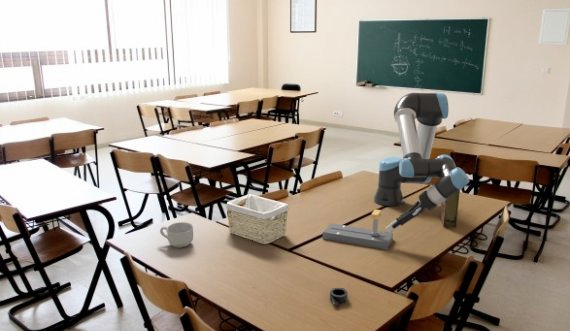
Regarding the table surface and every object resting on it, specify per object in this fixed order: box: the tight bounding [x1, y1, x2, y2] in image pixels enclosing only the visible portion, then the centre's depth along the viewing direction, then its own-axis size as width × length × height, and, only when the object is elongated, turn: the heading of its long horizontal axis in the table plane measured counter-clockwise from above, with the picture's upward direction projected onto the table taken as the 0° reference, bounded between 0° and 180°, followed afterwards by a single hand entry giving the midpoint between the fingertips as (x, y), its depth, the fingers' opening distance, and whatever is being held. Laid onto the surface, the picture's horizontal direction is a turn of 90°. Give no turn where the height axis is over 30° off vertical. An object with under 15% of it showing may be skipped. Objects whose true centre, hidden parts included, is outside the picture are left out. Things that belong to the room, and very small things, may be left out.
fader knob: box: [371, 209, 382, 236], centre depth 200 cm, size 3×6×10 cm, turn 157°
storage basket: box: [225, 193, 290, 245], centre depth 208 cm, size 24×16×15 cm
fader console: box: [322, 223, 394, 250], centre depth 204 cm, size 28×11×3 cm, turn 67°
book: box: [439, 166, 461, 229], centre depth 221 cm, size 16×6×25 cm, turn 168°
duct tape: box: [329, 287, 348, 307], centre depth 157 cm, size 8×10×3 cm
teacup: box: [159, 221, 194, 249], centre depth 198 cm, size 14×11×8 cm
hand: (387, 230), depth 198 cm, fingers closed
